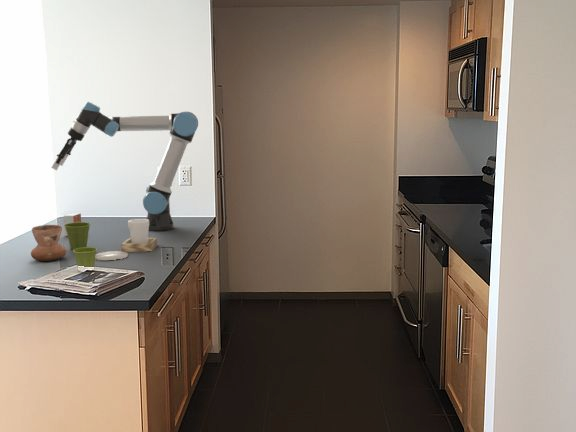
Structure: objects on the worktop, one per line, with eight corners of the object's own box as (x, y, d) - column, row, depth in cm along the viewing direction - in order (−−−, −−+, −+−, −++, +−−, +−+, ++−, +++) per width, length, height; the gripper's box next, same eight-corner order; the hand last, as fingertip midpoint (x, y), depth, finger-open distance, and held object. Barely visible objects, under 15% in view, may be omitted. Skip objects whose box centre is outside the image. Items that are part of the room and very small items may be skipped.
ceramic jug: (66, 262, 285) (64, 229, 282) (30, 265, 280) (27, 231, 278) (66, 253, 302) (64, 222, 299) (32, 255, 297) (30, 224, 295)
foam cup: (131, 246, 314) (129, 219, 312) (151, 245, 315) (150, 218, 312) (128, 251, 305) (126, 222, 302) (148, 250, 305) (147, 222, 303)
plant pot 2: (103, 268, 273) (102, 247, 272) (89, 274, 265) (88, 252, 263) (83, 267, 276) (82, 246, 275) (69, 272, 268) (68, 251, 266)
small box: (74, 236, 339) (73, 215, 337) (64, 236, 340) (62, 215, 338) (82, 233, 346) (81, 213, 345) (72, 233, 347) (71, 212, 346)
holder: (157, 245, 316) (157, 237, 315) (151, 251, 303) (150, 244, 302) (129, 245, 316) (128, 238, 316) (121, 251, 303) (121, 244, 303)
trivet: (122, 252, 303) (122, 249, 302) (131, 258, 291) (131, 255, 290) (91, 255, 296) (91, 253, 296) (99, 262, 284) (99, 260, 284)
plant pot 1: (69, 252, 303) (67, 227, 302) (62, 247, 313) (61, 223, 311) (95, 248, 310) (93, 225, 308) (88, 244, 320) (86, 221, 318)
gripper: (76, 124, 343) (55, 159, 346) (66, 129, 319) (44, 166, 322) (89, 132, 345) (68, 166, 348) (80, 137, 321) (58, 174, 323)
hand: (56, 166), depth 335 cm, fingers open, 13 cm apart
